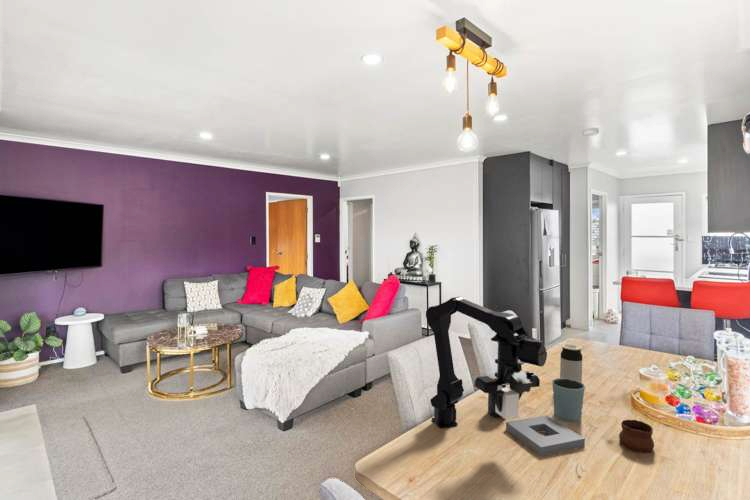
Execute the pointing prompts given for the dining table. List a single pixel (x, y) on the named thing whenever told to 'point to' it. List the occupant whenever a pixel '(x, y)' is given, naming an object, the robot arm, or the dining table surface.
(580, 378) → the travel mug
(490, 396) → the supplement bottle
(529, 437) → the socket
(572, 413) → the teal cup
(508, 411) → the plug
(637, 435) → the ceramic pot
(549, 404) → the dining table surface
